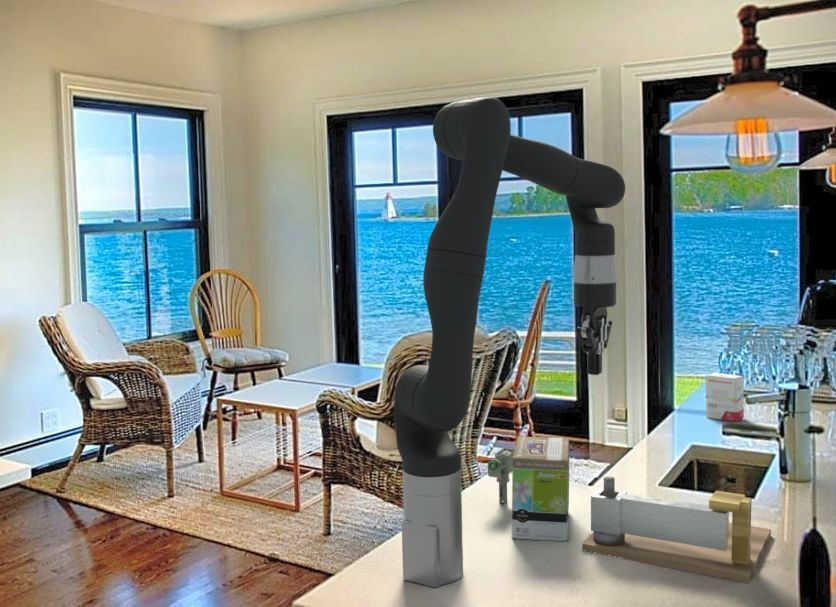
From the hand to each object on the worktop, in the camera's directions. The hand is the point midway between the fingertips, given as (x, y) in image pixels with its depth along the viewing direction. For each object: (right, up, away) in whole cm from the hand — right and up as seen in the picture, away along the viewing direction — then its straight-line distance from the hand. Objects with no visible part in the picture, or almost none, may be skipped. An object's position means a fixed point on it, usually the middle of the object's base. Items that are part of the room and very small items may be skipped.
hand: (594, 373), depth 154 cm
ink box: (+50, -18, +71) cm, 89 cm away
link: (+7, -25, -16) cm, 31 cm away
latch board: (+12, -28, -11) cm, 32 cm away
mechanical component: (-16, -27, +11) cm, 33 cm away
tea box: (-10, -28, -1) cm, 29 cm away
